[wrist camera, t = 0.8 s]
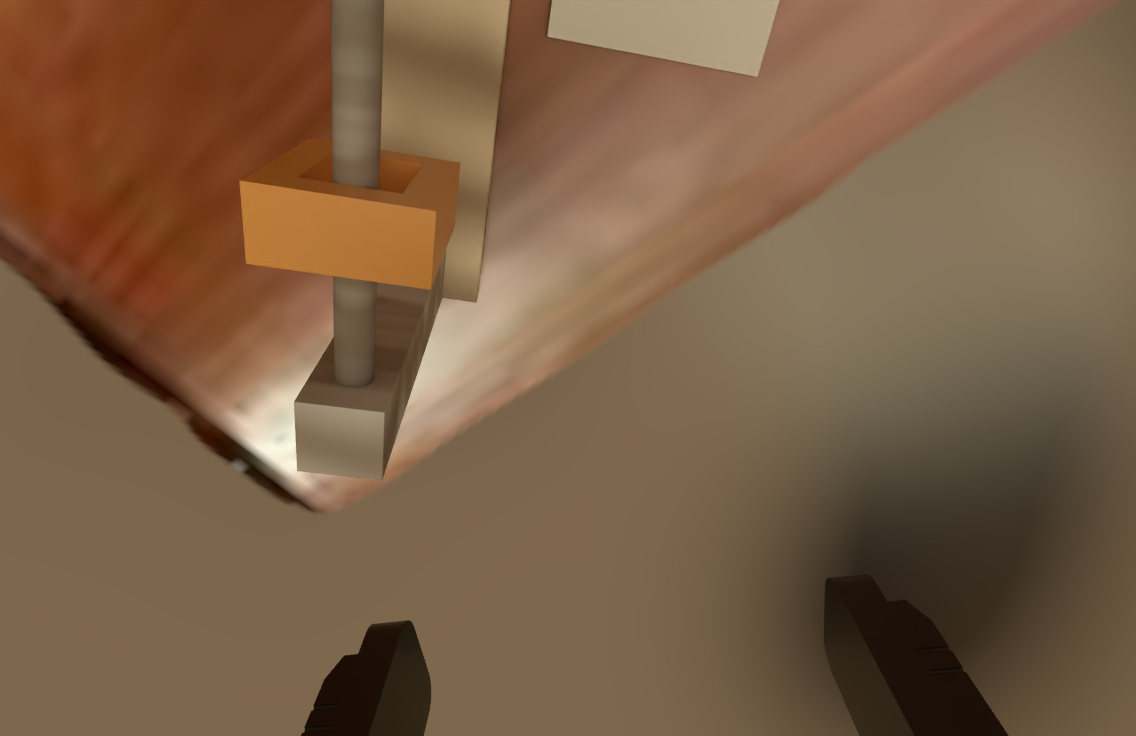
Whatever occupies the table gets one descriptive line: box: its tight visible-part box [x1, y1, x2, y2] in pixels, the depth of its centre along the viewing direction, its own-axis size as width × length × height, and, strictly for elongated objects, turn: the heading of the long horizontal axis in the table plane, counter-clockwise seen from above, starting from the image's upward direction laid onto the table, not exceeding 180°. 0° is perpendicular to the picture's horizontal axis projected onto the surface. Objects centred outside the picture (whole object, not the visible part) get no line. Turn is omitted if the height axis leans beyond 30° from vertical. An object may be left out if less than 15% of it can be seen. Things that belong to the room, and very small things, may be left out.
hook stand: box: [294, 0, 511, 480], centre depth 25 cm, size 24×7×18 cm, turn 170°
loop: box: [240, 138, 460, 290], centre depth 22 cm, size 6×2×6 cm, turn 80°
